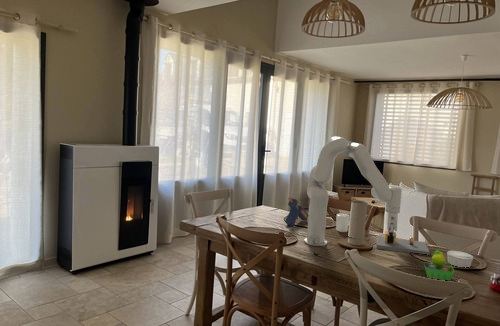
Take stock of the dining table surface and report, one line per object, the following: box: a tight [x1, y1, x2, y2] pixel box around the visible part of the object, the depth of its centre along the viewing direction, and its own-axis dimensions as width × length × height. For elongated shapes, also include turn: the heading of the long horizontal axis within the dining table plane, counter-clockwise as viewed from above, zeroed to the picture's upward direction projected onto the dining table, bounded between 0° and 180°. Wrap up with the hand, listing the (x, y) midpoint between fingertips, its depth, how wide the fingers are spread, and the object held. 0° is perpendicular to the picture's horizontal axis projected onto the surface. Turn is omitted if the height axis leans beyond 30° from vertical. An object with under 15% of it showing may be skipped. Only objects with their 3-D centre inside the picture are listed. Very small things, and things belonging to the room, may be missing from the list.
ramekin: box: [446, 250, 474, 269], centre depth 181 cm, size 11×11×5 cm
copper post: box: [408, 236, 415, 245], centre depth 202 cm, size 2×2×4 cm
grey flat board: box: [375, 235, 431, 256], centre depth 204 cm, size 18×26×2 cm
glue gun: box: [285, 197, 309, 227], centre depth 241 cm, size 6×31×15 cm
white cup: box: [335, 213, 350, 233], centre depth 231 cm, size 8×8×10 cm
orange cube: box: [383, 230, 397, 244], centre depth 206 cm, size 6×6×5 cm
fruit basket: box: [423, 250, 455, 281], centre depth 163 cm, size 11×9×11 cm
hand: (389, 240), depth 206 cm, fingers closed on orange cube, 5 cm apart
